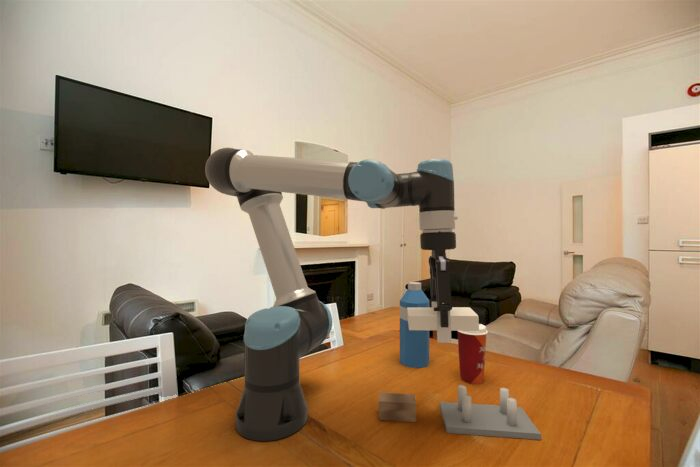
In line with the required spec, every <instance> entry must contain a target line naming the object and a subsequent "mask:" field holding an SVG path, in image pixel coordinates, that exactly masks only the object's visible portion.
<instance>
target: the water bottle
mask: <svg viewBox="0 0 700 467" xmlns="http://www.w3.org/2000/svg"><path fill="white" fill-rule="evenodd" d="M407 307H430V299H429V298H428V297H427V295H426V294H425V292H424V291H423V290H422V282H418V281H410V282H408V283H407V290H406V291H405V293H404V294H403V295H402V297H401V298H400V300H399V363H400V364H401V365H402V366H404V367H406V368H407V367H408V368H414V369H421V368H427V367H428V366H429V364H430V330H409V326H408V314H407Z"/></svg>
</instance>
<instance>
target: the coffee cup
mask: <svg viewBox="0 0 700 467" xmlns="http://www.w3.org/2000/svg"><path fill="white" fill-rule="evenodd" d="M487 334H488V330H487V327H486V325H484V324H482V323H479V331H457V342H458V343H457V344H458V345H457V346H458V361H459V362H458V363H459V365H458V366H459V374H460V380H462V381H463V382H464V383H467V384H471V385H480V384H482V383H483V382H484V377H485V365H486V364H485V362H486V347H487V346H486V345H487V344H486V343H487Z"/></svg>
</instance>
